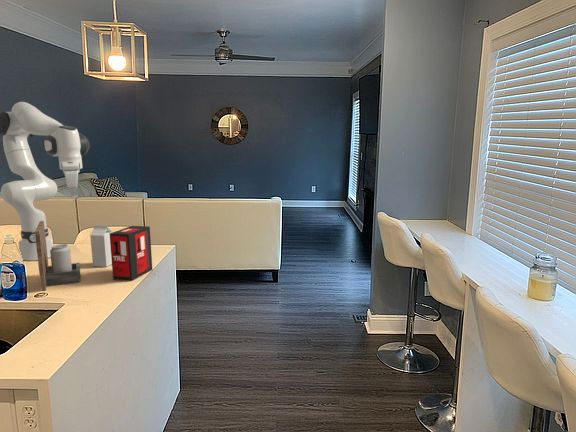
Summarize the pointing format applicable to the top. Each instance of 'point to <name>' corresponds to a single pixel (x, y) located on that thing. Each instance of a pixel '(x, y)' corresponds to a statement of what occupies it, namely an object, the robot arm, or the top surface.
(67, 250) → the can
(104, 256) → the milk carton
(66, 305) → the top surface
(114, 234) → the cleaning product box
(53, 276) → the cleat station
